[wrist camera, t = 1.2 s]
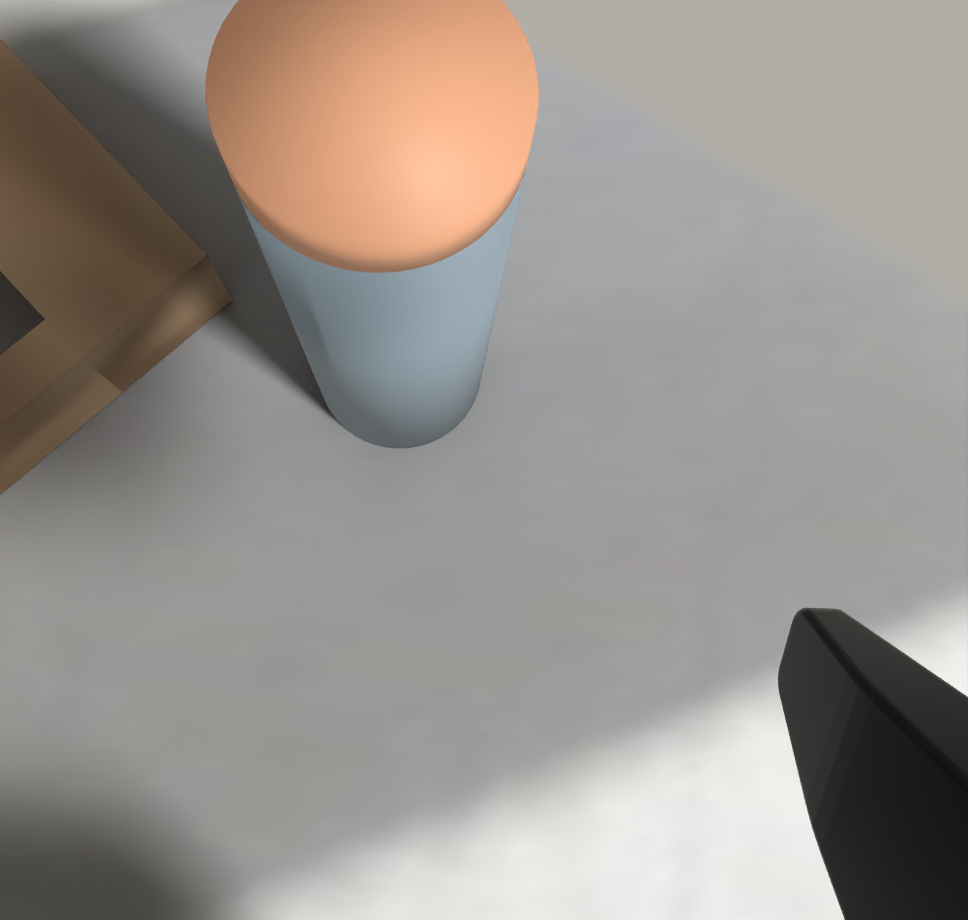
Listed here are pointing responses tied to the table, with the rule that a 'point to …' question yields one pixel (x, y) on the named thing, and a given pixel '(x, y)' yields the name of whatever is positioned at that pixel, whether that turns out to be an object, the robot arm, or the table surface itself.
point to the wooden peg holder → (82, 273)
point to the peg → (380, 189)
